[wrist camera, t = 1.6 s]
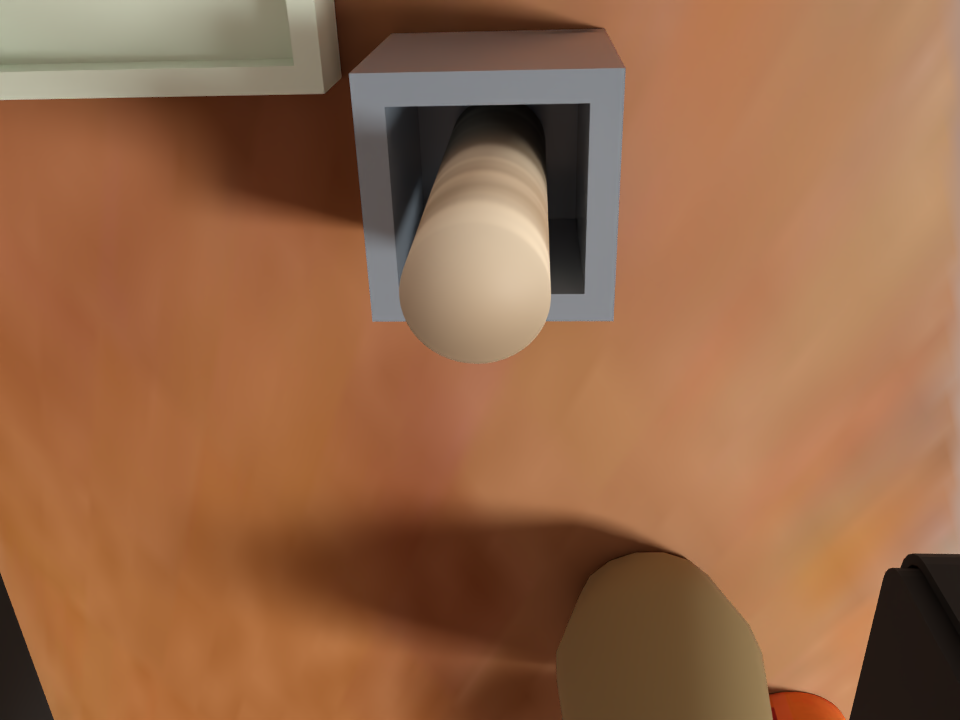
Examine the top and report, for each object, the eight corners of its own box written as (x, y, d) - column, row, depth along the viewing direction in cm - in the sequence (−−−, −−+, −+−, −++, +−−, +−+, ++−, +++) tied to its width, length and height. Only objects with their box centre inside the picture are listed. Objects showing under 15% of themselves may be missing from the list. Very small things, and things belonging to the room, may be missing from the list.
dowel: (449, 96, 27) (393, 224, 16) (545, 94, 27) (551, 223, 16) (453, 190, 28) (404, 363, 18) (545, 189, 28) (550, 363, 18)
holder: (391, 33, 27) (348, 73, 21) (604, 28, 27) (625, 67, 20) (406, 234, 30) (372, 321, 24) (597, 233, 30) (612, 320, 24)
